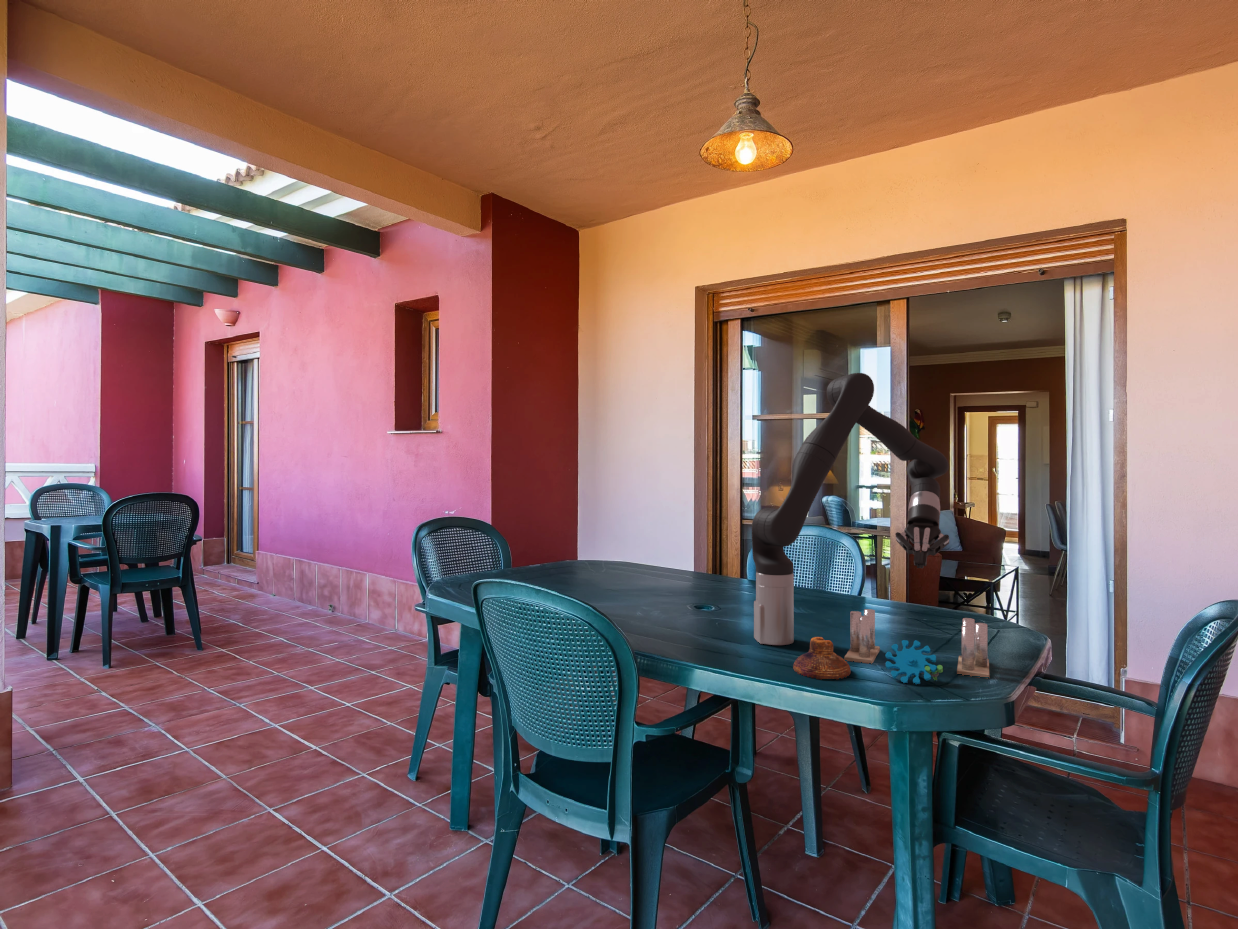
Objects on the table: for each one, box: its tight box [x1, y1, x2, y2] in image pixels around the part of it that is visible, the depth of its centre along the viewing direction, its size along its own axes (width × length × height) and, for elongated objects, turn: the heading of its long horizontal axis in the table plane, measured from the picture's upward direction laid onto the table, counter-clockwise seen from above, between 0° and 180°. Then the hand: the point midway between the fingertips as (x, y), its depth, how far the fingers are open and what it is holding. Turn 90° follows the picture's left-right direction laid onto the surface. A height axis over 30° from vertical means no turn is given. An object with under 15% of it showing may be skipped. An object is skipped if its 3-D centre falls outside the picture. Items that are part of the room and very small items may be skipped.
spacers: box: [849, 608, 988, 671], centre depth 156 cm, size 10×28×9 cm, turn 62°
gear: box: [885, 639, 944, 685], centre depth 144 cm, size 11×6×10 cm
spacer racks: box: [843, 645, 990, 678], centre depth 156 cm, size 13×29×1 cm, turn 62°
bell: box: [792, 636, 852, 680], centre depth 149 cm, size 12×12×7 cm
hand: (920, 566), depth 169 cm, fingers closed
